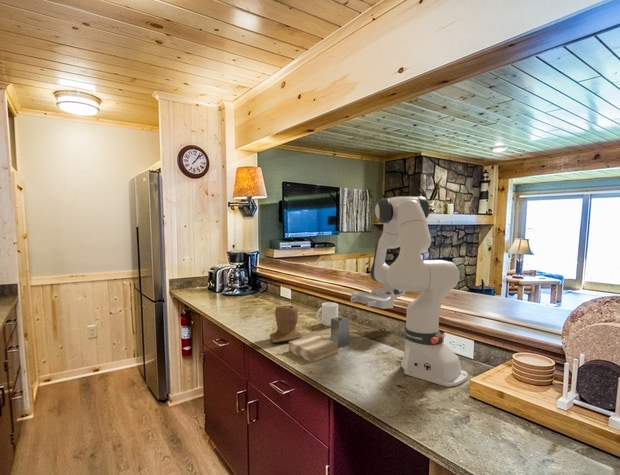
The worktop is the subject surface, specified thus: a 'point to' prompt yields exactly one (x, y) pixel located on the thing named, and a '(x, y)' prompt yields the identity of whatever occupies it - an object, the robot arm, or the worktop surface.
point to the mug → (327, 313)
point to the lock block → (340, 330)
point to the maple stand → (313, 347)
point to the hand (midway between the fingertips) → (359, 302)
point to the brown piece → (285, 324)
